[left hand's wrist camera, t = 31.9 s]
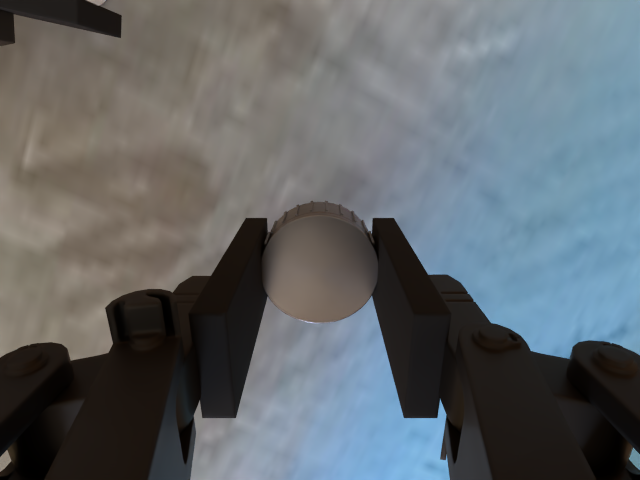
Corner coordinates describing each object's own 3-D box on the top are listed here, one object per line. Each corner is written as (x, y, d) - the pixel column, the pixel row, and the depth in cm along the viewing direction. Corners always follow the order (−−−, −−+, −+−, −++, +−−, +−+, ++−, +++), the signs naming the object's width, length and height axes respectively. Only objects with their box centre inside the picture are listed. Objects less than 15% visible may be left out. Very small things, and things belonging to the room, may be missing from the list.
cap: (268, 193, 13) (262, 205, 12) (383, 206, 14) (391, 220, 12) (261, 296, 15) (254, 318, 13) (365, 306, 15) (370, 330, 13)
